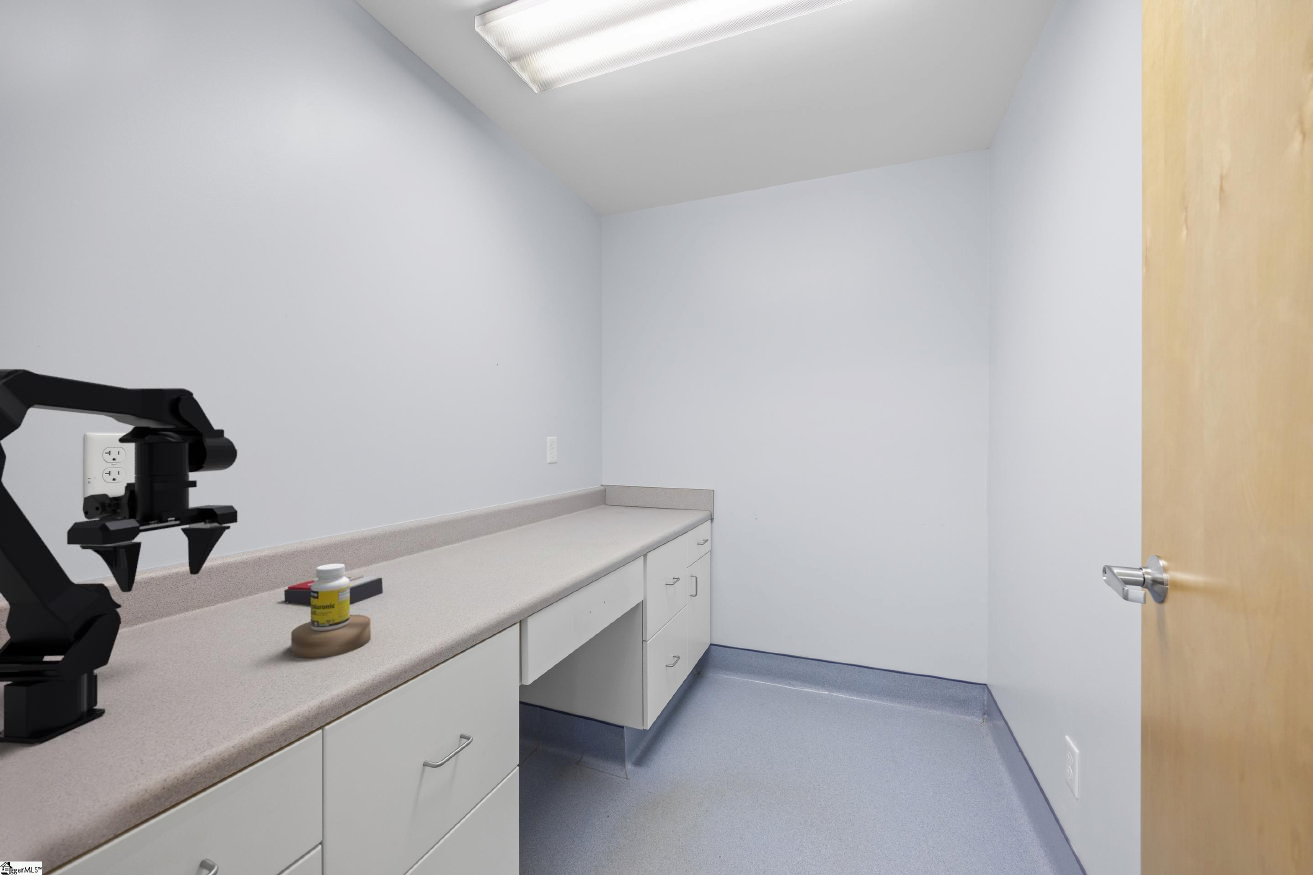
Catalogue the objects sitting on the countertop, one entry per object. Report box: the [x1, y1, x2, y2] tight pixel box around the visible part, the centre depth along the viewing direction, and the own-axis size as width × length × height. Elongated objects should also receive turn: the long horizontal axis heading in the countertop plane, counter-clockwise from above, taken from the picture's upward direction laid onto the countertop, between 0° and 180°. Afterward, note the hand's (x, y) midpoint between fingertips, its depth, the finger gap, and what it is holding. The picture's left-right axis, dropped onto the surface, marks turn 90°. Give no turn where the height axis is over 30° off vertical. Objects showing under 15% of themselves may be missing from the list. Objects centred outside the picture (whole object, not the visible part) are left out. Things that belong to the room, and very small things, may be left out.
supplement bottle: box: [310, 563, 351, 631], centre depth 84 cm, size 5×5×10 cm
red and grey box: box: [284, 574, 384, 606], centre depth 110 cm, size 11×4×15 cm
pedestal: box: [290, 614, 372, 659], centre depth 85 cm, size 11×11×3 cm
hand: (162, 582), depth 74 cm, fingers open, 9 cm apart
